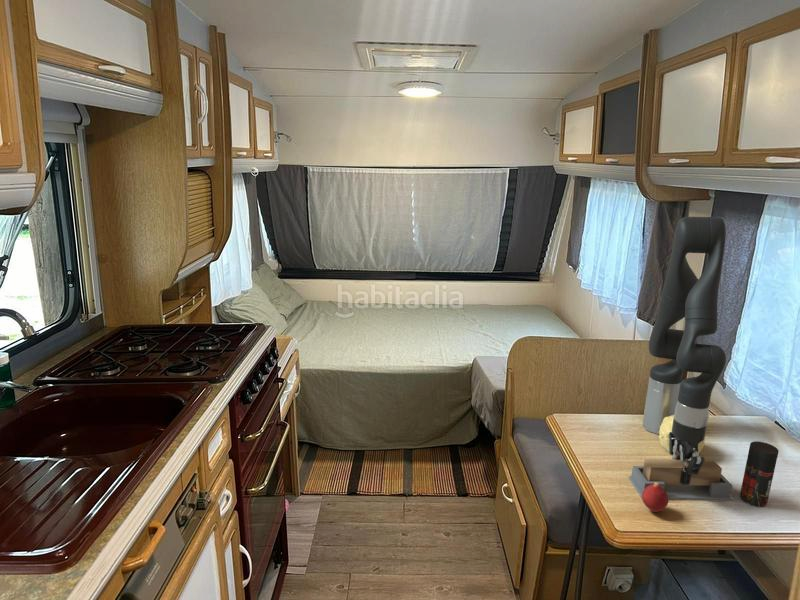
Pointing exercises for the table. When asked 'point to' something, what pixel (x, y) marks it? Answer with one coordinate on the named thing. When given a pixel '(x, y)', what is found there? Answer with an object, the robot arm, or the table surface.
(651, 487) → the onion
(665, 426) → the sculpture
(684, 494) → the endcaps
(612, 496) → the table surface
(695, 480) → the slat
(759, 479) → the deodorant
